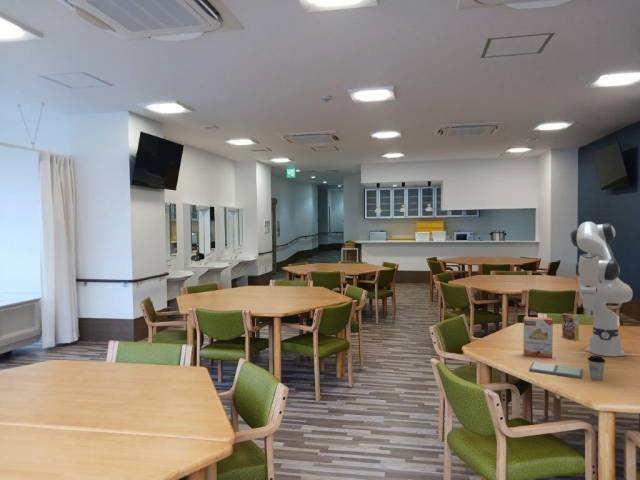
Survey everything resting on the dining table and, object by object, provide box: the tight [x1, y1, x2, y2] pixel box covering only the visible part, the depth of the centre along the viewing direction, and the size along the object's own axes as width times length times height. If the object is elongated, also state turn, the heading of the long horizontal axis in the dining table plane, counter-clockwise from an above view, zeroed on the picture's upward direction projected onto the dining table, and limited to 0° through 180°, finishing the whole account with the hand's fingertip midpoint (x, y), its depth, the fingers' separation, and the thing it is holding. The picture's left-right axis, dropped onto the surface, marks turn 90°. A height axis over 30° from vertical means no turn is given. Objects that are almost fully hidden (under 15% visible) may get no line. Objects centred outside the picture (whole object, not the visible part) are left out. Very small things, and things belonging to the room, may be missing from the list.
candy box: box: [561, 312, 580, 341], centre depth 283 cm, size 9×4×15 cm, turn 23°
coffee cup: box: [587, 355, 606, 381], centre depth 209 cm, size 7×7×10 cm
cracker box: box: [523, 316, 554, 359], centre depth 246 cm, size 14×6×21 cm, turn 71°
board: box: [528, 361, 584, 379], centre depth 220 cm, size 14×22×1 cm, turn 57°
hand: (588, 315), depth 219 cm, fingers open, 8 cm apart
